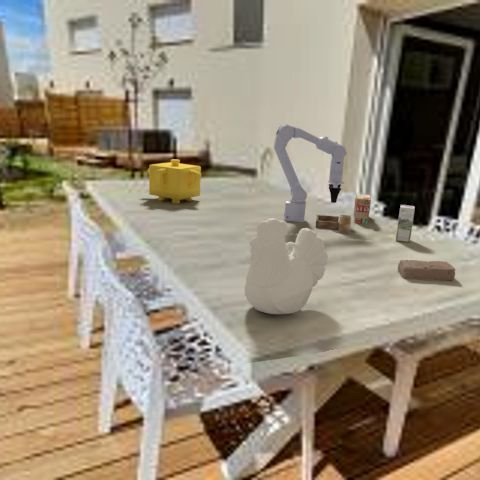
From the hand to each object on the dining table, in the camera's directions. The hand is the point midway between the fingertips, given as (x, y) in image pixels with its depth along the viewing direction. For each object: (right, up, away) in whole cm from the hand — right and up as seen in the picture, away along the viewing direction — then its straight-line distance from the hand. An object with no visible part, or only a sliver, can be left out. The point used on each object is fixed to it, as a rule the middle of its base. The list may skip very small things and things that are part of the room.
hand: (333, 201), depth 234 cm
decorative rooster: (-30, -36, -98) cm, 109 cm away
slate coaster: (+2, -15, -15) cm, 21 cm away
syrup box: (+24, -18, -23) cm, 38 cm away
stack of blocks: (+15, -8, +11) cm, 20 cm away
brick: (+18, -30, -66) cm, 75 cm away
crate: (-4, -12, -6) cm, 14 cm away
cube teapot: (-78, +3, +36) cm, 86 cm away
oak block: (+2, -14, -15) cm, 21 cm away
